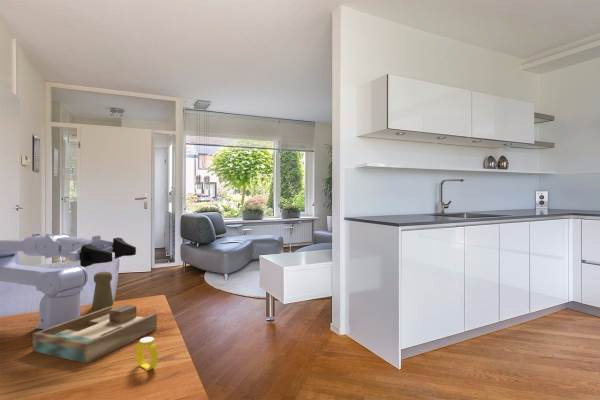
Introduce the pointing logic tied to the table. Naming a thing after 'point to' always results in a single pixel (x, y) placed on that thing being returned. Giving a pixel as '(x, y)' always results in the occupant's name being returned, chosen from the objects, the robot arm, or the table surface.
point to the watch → (153, 351)
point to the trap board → (90, 336)
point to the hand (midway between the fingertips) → (123, 254)
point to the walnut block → (122, 313)
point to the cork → (102, 290)
